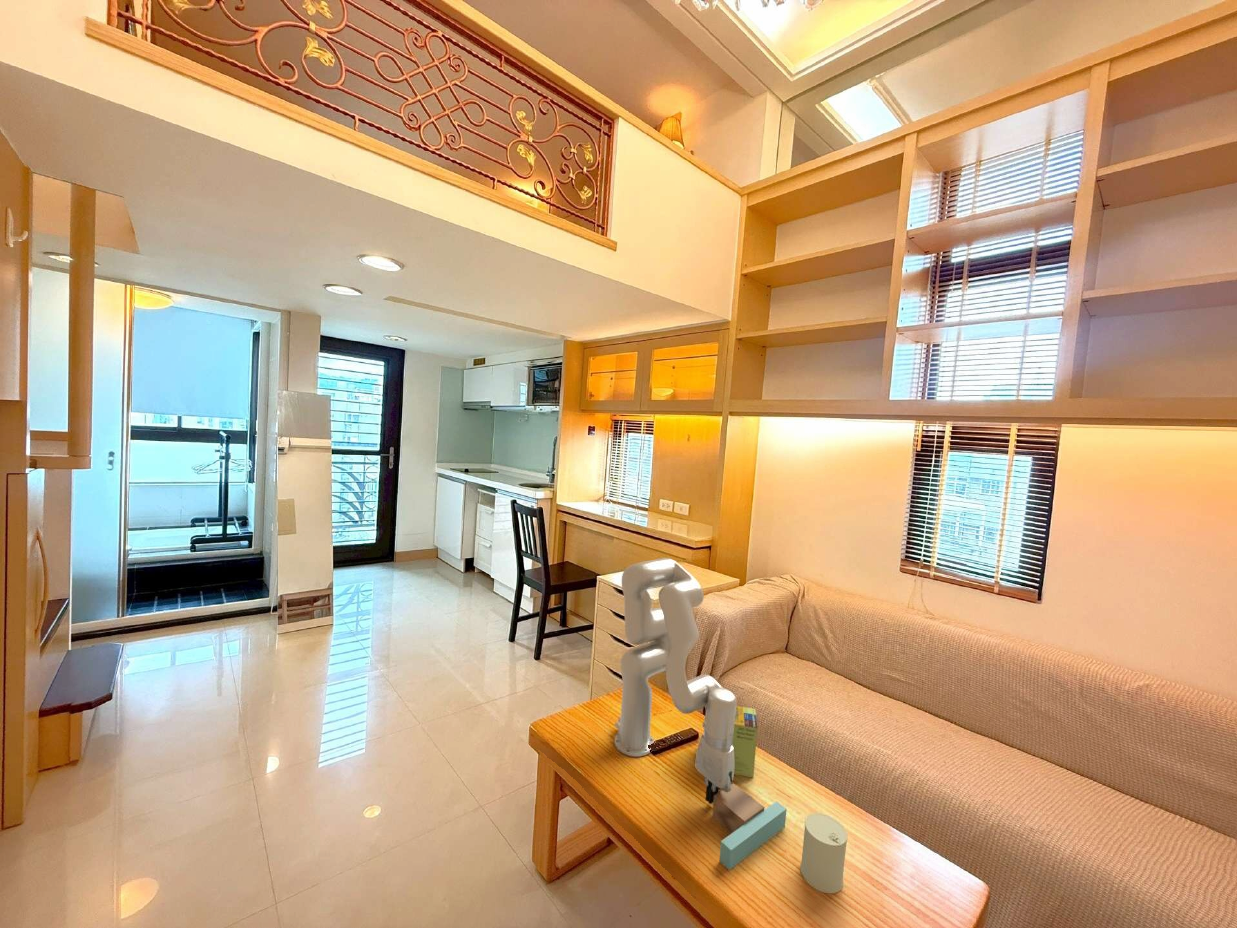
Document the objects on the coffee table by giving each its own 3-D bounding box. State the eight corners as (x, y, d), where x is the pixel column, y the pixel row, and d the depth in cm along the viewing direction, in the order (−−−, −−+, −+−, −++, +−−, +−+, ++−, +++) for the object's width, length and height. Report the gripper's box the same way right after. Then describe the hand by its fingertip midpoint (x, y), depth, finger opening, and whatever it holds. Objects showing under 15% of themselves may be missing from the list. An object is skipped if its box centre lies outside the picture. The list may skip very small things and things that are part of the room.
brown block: (712, 816, 130) (713, 795, 129) (731, 803, 134) (733, 783, 134) (742, 843, 122) (744, 820, 121) (762, 828, 127) (764, 806, 126)
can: (821, 899, 108) (826, 848, 107) (791, 864, 117) (796, 816, 116) (852, 885, 112) (857, 836, 111) (820, 852, 120) (825, 806, 119)
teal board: (719, 860, 116) (720, 840, 116) (775, 819, 130) (776, 801, 129) (729, 870, 114) (731, 850, 114) (784, 826, 127) (786, 808, 127)
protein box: (754, 778, 145) (758, 728, 144) (701, 768, 148) (704, 718, 147) (751, 755, 155) (755, 708, 154) (702, 746, 158) (705, 700, 157)
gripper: (688, 726, 134) (681, 787, 137) (731, 758, 123) (723, 825, 125) (706, 717, 139) (700, 776, 141) (750, 748, 127) (742, 812, 129)
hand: (711, 799), depth 133 cm, fingers closed
